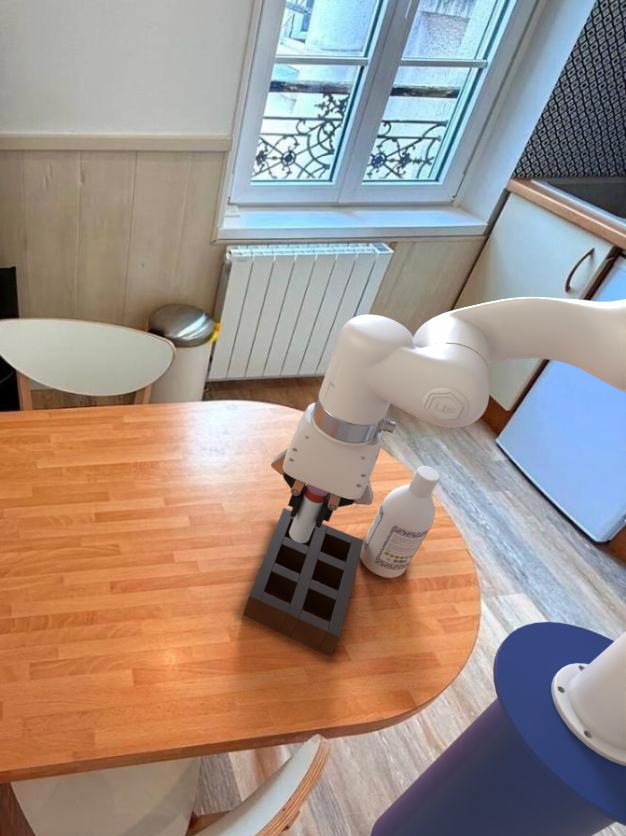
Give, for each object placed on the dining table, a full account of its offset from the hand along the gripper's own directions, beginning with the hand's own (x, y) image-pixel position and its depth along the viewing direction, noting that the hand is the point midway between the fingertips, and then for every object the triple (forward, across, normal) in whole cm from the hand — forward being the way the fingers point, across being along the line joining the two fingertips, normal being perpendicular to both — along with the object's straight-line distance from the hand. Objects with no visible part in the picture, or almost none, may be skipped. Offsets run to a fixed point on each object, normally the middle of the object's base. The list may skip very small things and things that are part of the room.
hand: (307, 514), depth 83 cm
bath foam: (+15, -13, -11) cm, 23 cm away
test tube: (+5, 0, 0) cm, 5 cm away
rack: (+15, -3, 0) cm, 15 cm away
